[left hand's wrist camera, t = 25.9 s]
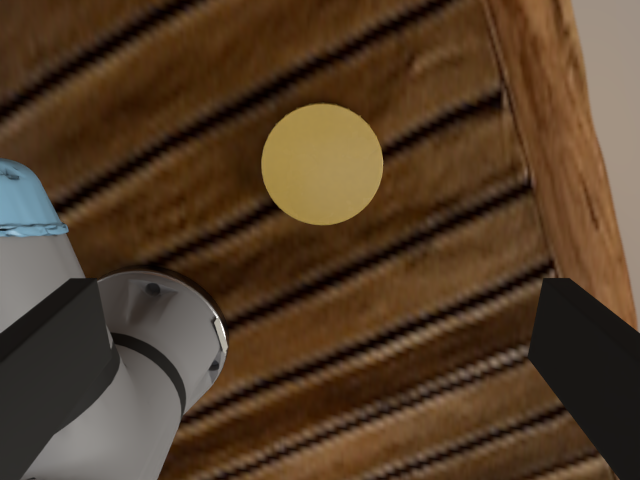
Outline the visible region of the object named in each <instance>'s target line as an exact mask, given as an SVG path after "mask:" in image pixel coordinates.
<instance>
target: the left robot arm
mask: <svg viewBox="0 0 640 480" xmlns="http://www.w3.org/2000/svg"><path fill="white" fill-rule="evenodd" d="M67 232H69V230H68V227H67V225H66V224H64V223H62V222H61V221H60V219H59V217H58V215H57V213H56V211H55V210H54V208H53V206H52V204H51V202H50V200H49V198H48V196H47V194H46V192H45V190H44V188H43V186H42V184H41V182H40V180H39V179H38V177H37V176H36V175H35V174H34V173H33V172H32V171H31V170H30V169H29V168H27V167H26V166H24V165H23V164H21V163H18V162H16V161H13V160H9V159H4V158H0V480H157V478H158V476H159V473H160V471H161V468H162V466H163V463H164V461H165V459H166V456H167V454H168V451H169V449H170V446H171V444H172V441H173V439H174V436H175V434H176V431H177V429H178V426H179V424H180V421H181V419H182V416H183V415H184V414H185V413H186V412H187V411H188V410H189V409H190V408H191V407H192V406H193V405H194V404H195V403H196V402H197V401H198V400H199V399H200V398H201V397H202V396H203V395H204V394H205V393H206V392H207V391H208V390H209V388H210V387H211V386H212V385H213V383H214V382H215V381H216V379H217V378H218V376H219V374H220V372H221V370H222V368H223V365H224V362H225V359H226V356H227V353H228V347H229V333H228V327H227V324H226V321H225V318H224V316H223V313H222V312H221V310H220V308H219V306H218V305H217V303H216V302H215V301H214V299H213V298H212V297H211V296H210V295H209V294H208V293H207V292H206V291H205V290H204V289H203V288H202V287H201V286H199V285H198V284H196V283H195V282H194V281H192V280H190V279H189V278H187V277H185V276H183V275H181V274H179V273H176V272H174V271H171V270H167V269H164V268H159V267H152V266H132V267H125V268H121V269H118V270H115V271H112V272H110V273H108V274H106V275H104V276H102V277H101V278H99V279H98V280H97V278H85V275H84V273H83V271H82V269H81V266H80V264H79V262H78V259H77V257H76V255H75V253H74V250H73V248H72V246H71V244H70V241H69V239H68V237H67V234H66V233H67ZM528 358H529V360H530V361H531V362H532V364H533V365H534V366H535V368H536V369H537V370H538V372H539V373H540V374H541V376H542V377H543V378H544V380H545V381H546V382H547V384H548V385H549V386H550V388H551V389H552V390H553V392H554V393H555V394H556V396H557V397H558V398H559V400H560V401H561V402H562V404H563V405H564V406H565V407H566V409H567V410H568V411H569V413H570V414H571V415H572V417H573V418H574V419H575V421H576V422H577V423H578V425H579V426H580V427H581V429H582V430H583V431H584V433H585V434H586V435H587V437H588V438H589V439H590V441H591V442H592V443H593V445H594V446H595V447H596V449H597V450H598V451H599V453H600V454H601V455H602V457H603V458H604V459H605V460H606V462H607V463H608V464H609V466H610V467H611V468H612V470H613V471H614V472H615V474H616V475H617V476H618V478H619V479H620V480H640V333H639V332H637V331H636V330H635V329H634V328H632V327H631V326H630V325H628V324H627V323H626V322H625V321H623V320H622V319H621V318H620V317H618V316H617V315H616V314H614V313H613V312H612V311H611V310H609V309H608V308H607V307H606V306H604V305H603V304H602V303H600V302H599V301H598V300H597V299H595V298H594V297H593V296H592V295H590V294H589V293H588V292H586V291H585V290H584V289H583V288H581V287H580V286H579V285H578V284H576V283H575V282H574V281H572V280H571V279H570V278H543V283H542V288H541V293H540V298H539V303H538V308H537V313H536V318H535V323H534V328H533V333H532V338H531V343H530V348H529V353H528Z"/></svg>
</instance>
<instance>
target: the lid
mask: <svg viewBox="0 0 640 480" xmlns="http://www.w3.org/2000/svg"><path fill="white" fill-rule="evenodd" d="M369 126H370V125H369V124H368V123H366V122H365V121H364V120H363V119H362V118H361V116H360V115H359V114H358V115H357V114H356V113H354V112H353V111H351V110H349V108H345V107H342V106H340V105H337V104H336V103H335V104H331V103H324V102H322V103H314V104H311V103H309V104H308V105H305V106H302V107H297V109H295V110H293V111H292V112H290V113H289V114H288V113H287V114H286V115H285V117H284V118H283V119H282V120H280V121H279V122H277V123H276V126H275V127H274V128H273V130H272V131H271V132H270V133H269V134H268V135H269V136H268V138H267V141H266V143H265V145H264V149H263V154H262V158H261V160H262V165H261V167H262V176H263V180H264V183H265V186H266V189H267V191H268V193H269V195H270V196H271V198H272V199H273V201H274V202H275V203H276V204H277V205H278V207H279V208H280V209H282V210H283V211H284V212H285V213H286V214H288V215H290V216H291V217H293V218H295V219H297V220H299V221H302V222H305V223H309V224H314V225H330V224H336V223H339V222H342V221H345V220H347V219H349V218H351V217H353V216H355V215H356V214H358V213H359V212H360V211H361V210H363V209H364V208H365V207H366V206H367V205H368V204H369V202H370V201H371V200H372V198H373V197H374V195H375V193H376V191H377V189H378V187H379V184H380V181H381V177H382V171H383V158H382V151H381V147H380V144H379V142H378V140H377V136H376V135H375V134H374V132H373V130H372V129H371V128H370V127H369Z"/></svg>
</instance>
